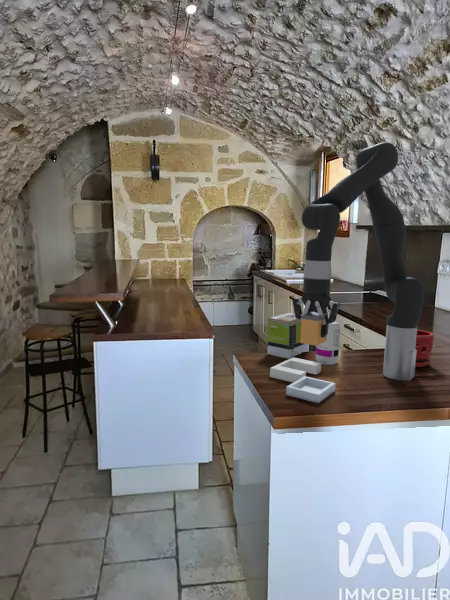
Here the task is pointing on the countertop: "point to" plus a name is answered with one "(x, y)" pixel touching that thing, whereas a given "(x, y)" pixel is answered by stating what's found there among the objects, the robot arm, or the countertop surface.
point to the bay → (294, 369)
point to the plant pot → (423, 347)
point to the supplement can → (329, 346)
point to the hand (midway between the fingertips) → (313, 335)
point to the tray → (310, 389)
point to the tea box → (285, 336)
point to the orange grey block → (311, 329)
